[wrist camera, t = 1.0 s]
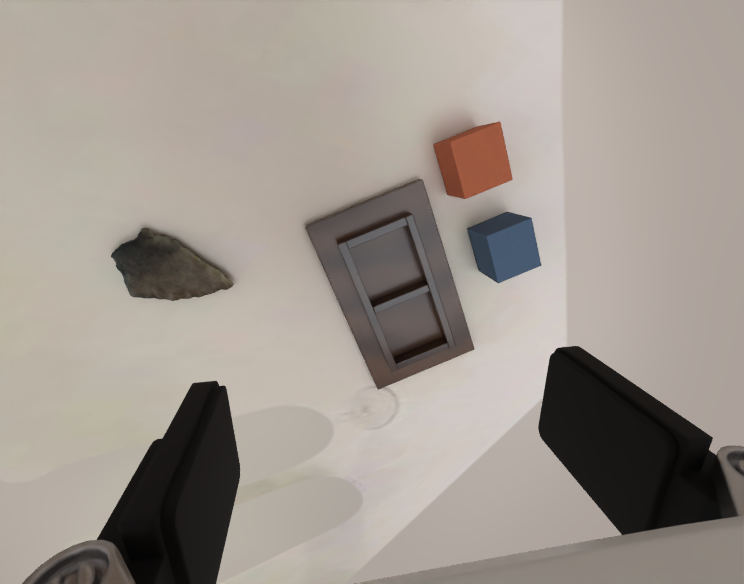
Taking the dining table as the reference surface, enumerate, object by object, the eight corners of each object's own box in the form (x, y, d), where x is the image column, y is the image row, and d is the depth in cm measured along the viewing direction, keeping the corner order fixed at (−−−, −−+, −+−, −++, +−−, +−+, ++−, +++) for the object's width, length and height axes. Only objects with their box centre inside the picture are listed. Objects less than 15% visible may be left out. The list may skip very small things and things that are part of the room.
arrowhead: (238, 289, 36) (235, 294, 35) (133, 303, 35) (126, 309, 34) (221, 218, 34) (218, 220, 33) (108, 230, 33) (100, 233, 32)
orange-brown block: (433, 144, 35) (449, 141, 31) (477, 126, 35) (500, 121, 31) (447, 194, 37) (465, 199, 32) (489, 177, 37) (512, 179, 32)
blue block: (466, 228, 38) (486, 236, 34) (507, 211, 38) (531, 217, 34) (478, 270, 40) (498, 283, 36) (517, 254, 40) (541, 265, 36)
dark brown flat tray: (305, 225, 35) (305, 229, 33) (419, 178, 36) (427, 179, 33) (376, 384, 43) (380, 397, 40) (471, 345, 43) (480, 355, 41)
